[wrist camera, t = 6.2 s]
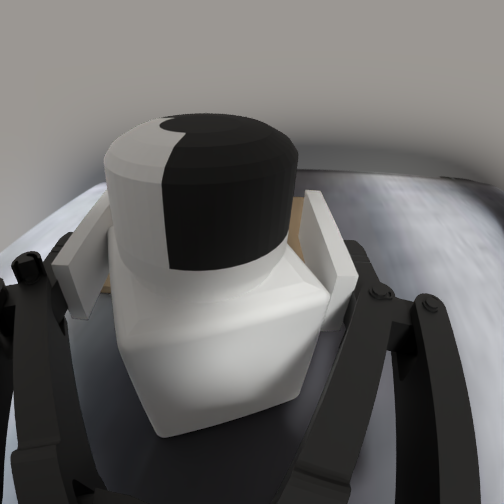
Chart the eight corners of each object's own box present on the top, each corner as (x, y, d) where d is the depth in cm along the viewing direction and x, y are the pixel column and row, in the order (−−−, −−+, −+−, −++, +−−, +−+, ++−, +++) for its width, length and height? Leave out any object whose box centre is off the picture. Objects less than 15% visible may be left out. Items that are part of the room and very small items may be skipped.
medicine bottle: (246, 304, 20) (260, 102, 13) (300, 398, 15) (371, 153, 8) (132, 330, 17) (91, 116, 11) (158, 441, 12) (67, 184, 5)
